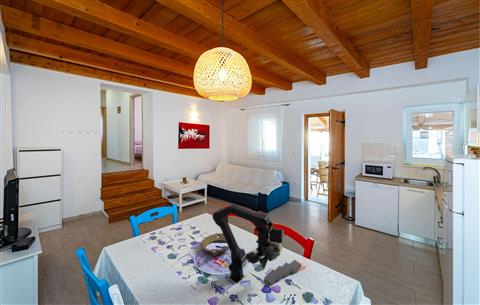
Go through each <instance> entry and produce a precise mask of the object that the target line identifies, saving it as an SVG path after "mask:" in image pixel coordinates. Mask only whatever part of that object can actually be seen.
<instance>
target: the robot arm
mask: <svg viewBox="0 0 480 305" xmlns="http://www.w3.org/2000/svg"><path fill="white" fill-rule="evenodd" d="M229 215H233V216H236V217H238V218H241V219H244V220H246V221H249V222H251V223H252V225H254V226H255V227H254V228H253V232H257V240H256V241H255V242H256V243H257V247H256V251H257V252H254V251H253V250H252V251H251V252H248V253H246V251H245V249H244V248H241V247H239V244H238V242H237V240H236V237H235V236H234V234H233V231H232V229H231V227H230V225H229V224H230V223H229ZM211 218H212V220H213V221H214V223H215V224H216V225H217V226H218V227H219V228H220V230H221V233H222V234H223V235H224V237H225V239H226V242H227V244H228V246H227V247H229V249H228V250H229V251H230V259H231V262H230V263H229V265H228V266H227V268H228V271H229V272H230V275H229V276H228V279H229V280H231V281H233V282H235V283H237V284H238V283H239V282H240V281H242V279H244V278H245V275H244V269H243V266H244V264H245V262H246V260H247V261H249V262H250V263H251V264H252V265H255V264H256V263H259V264H260V266H261V268H262V270H264V269H266V267H267V263H268V261H269V262H272V261H274V260H277V257H279V256H280V255H279V252H280V248H279V246H277V245H275V244H274V243H272V244H271V242H276V243H281V244H282V245H283V244H284V242H285V233H284V229H283V228H276V227H275V225H274V223H272V221H271V219H270V217H269V215H268V214H267V213H261V212H253V211H250V210H247V209H245V208H242V207H239V206H237V205H236V204H233V203H232V204H230V205H229V206H226V207H225V208H218V210H216V211H215V212H213V213H212V217H211ZM269 239H270V241H271V242H269ZM278 255H279V256H278Z"/></svg>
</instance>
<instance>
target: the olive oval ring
mask: <svg viewBox="0 0 480 305" xmlns="http://www.w3.org/2000/svg"><path fill="white" fill-rule="evenodd" d="M211 243H227V242H226V239H225V237H224V235H223V232H220V233H217V232H216V233H215V234H213V233H212V234H210V235H208V236H206V237H204V238H203V239H202V240H201V243H200V247H201V249H202V251H204V252H206V253H209V254H212V256H214V257H217V256H218V255H219V254H221V253H224V252H226V251H228V250H230V249H229V246H227V247H225V248H222V249H219V250H217V249H218V248H217V249H212V250H209V249H207V248H206V246H207V245H209V244H211Z"/></svg>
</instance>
